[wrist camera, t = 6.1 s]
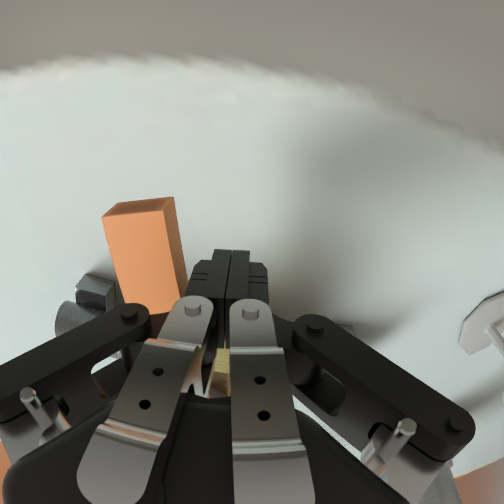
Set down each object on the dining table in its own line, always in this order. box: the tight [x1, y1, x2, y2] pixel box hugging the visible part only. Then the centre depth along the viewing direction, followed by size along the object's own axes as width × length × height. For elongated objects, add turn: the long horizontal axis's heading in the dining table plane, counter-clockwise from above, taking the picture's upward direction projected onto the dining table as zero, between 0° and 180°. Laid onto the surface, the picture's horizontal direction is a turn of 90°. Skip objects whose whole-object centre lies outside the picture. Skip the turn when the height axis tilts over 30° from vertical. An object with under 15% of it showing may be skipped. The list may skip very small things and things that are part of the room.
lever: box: [101, 197, 227, 398], centre depth 15 cm, size 17×3×4 cm, turn 4°
